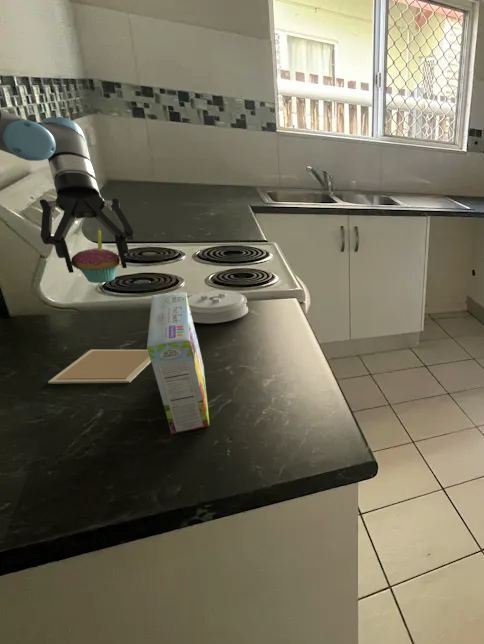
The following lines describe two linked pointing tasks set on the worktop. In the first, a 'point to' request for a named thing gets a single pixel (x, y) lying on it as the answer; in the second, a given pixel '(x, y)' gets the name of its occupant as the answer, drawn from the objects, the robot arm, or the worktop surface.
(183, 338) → the snack box
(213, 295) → the lid
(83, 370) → the tan square board
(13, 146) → the robot arm
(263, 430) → the worktop surface
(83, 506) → the worktop surface
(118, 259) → the cupcake
